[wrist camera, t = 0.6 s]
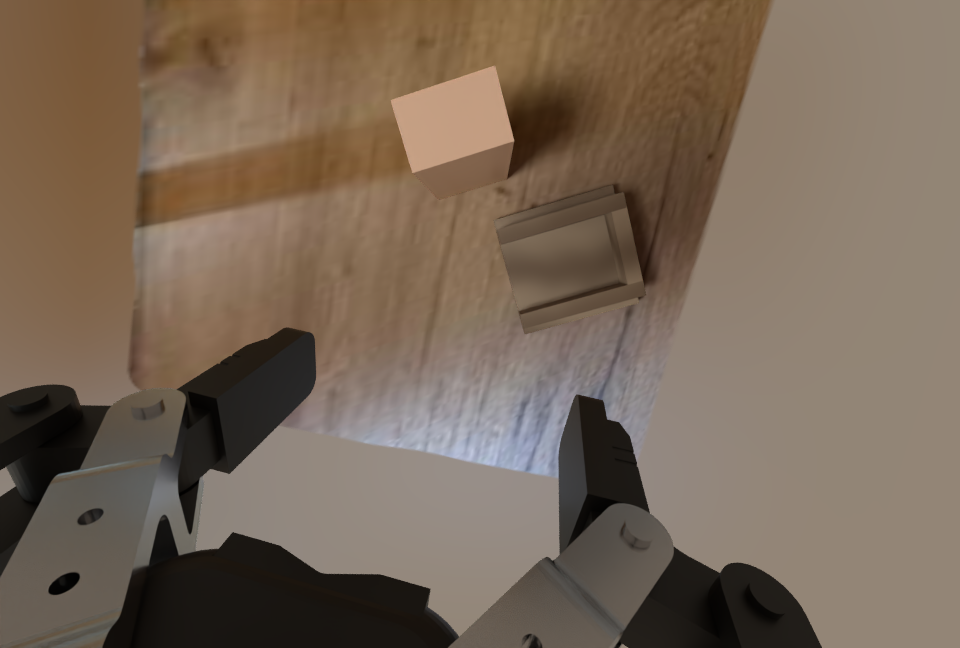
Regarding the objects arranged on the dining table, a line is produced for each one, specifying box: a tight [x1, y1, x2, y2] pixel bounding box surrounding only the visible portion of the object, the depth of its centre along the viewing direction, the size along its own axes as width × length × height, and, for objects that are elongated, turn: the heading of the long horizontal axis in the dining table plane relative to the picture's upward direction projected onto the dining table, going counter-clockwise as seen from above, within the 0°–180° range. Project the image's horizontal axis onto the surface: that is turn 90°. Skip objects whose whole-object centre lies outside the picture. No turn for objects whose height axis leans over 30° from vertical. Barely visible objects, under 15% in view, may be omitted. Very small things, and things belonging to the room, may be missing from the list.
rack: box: [494, 185, 646, 334], centre depth 32 cm, size 10×10×3 cm
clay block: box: [391, 66, 514, 200], centre depth 27 cm, size 4×6×11 cm, turn 106°
